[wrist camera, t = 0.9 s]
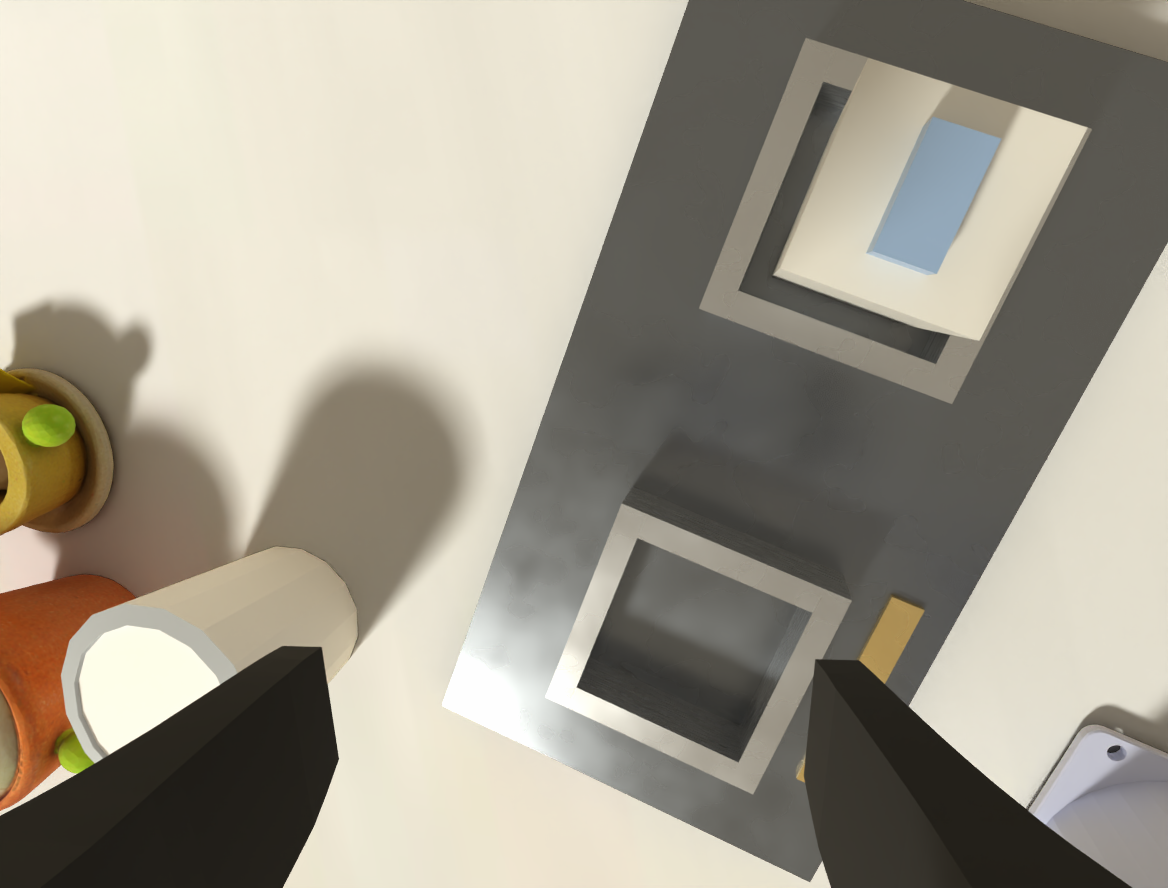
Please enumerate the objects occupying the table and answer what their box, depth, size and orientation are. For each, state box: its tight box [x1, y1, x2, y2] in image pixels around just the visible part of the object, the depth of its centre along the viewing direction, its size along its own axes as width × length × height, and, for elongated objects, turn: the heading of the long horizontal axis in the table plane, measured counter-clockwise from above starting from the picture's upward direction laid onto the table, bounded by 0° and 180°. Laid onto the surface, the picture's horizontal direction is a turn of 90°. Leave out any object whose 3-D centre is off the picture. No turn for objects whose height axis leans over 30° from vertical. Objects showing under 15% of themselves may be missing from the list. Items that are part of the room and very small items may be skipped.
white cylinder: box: [61, 546, 358, 763], centre depth 25 cm, size 7×7×7 cm
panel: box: [442, 0, 1168, 882], centre depth 22 cm, size 14×26×3 cm, turn 160°
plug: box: [772, 58, 1088, 341], centre depth 17 cm, size 4×4×8 cm
